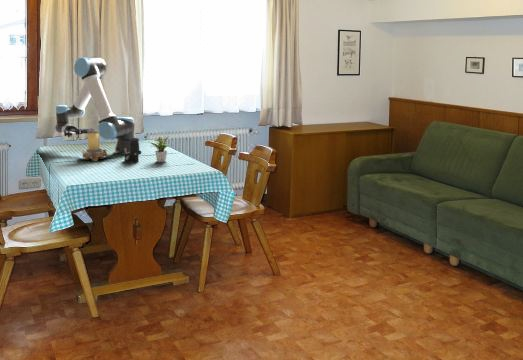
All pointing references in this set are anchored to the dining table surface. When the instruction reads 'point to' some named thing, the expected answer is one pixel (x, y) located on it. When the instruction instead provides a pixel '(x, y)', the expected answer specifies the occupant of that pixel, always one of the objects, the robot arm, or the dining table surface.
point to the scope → (133, 151)
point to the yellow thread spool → (93, 141)
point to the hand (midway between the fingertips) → (85, 133)
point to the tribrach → (94, 155)
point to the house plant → (160, 149)
